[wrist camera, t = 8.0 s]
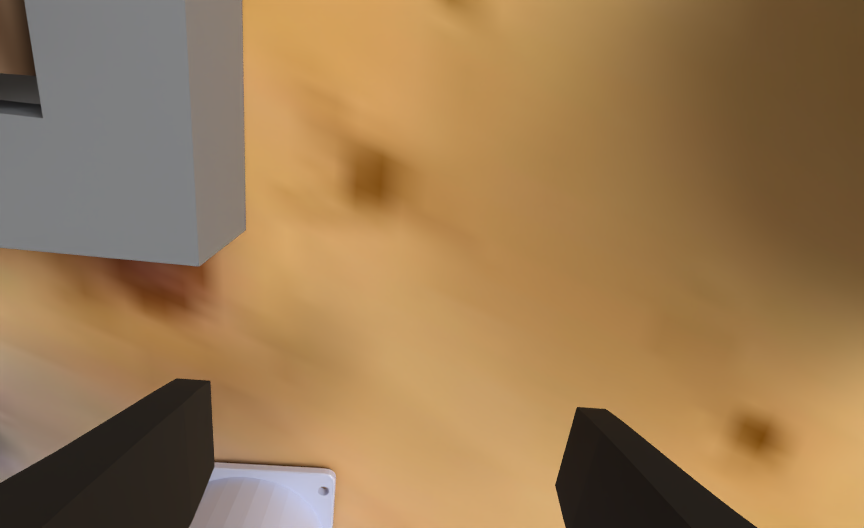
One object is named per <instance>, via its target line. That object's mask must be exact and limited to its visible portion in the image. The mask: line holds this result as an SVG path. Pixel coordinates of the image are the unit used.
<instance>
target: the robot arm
mask: <svg viewBox="0 0 864 528" xmlns="http://www.w3.org/2000/svg"><path fill="white" fill-rule="evenodd" d="M335 486H336V474H335V473H334V472H333V471H332V470H330V469H326V468H310V467H292V466H274V465H255V464H237V463H219V462H214V446H213V426H212V406H211V385H210V381H205V380H191V379H175V380H173V381H171V382H170V383H168V384H166V385H164V386H163V387H161V388H159V389H157V390H156V391H154V392H153V393H151V394H149V395H148V396H146V397H144V398H143V399H141V400H139V401H138V402H136V403H135V404H133V405H131V406H130V407H128V408H127V409H125V410H123V411H122V412H120V413H119V414H117V415H115V416H114V417H112V418H110V419H109V420H107V421H106V422H104V423H102V424H101V425H99V426H97V427H96V428H94V429H92V430H91V431H89V432H87V433H86V434H84V435H82V436H81V437H79V438H78V439H76V440H74V441H73V442H71V443H69V444H68V445H66V446H64V447H63V448H61V449H59V450H58V451H56V452H54V453H53V454H51V455H49V456H47V457H45V458H44V459H42V460H40V461H38V462H37V463H35V464H33V465H31V466H30V467H28V468H26V469H24V470H22V471H21V472H19V473H17V474H15V475H14V476H12V477H10V478H8V479H7V480H5V481H3V482H1V483H0V528H333V516H334V501H335ZM555 486H556V490H557V494H558V499H559V503H560V507H561V511H562V515H563V519H564V523H565V526H566V528H757V527H756V526H754V525H753V524H752V523H750V522H749V521H747V520H746V519H745V518H743V517H742V516H741V515H739V514H738V513H737V512H735V511H734V510H733V509H731V508H730V507H729V506H728V505H726V504H725V503H724V502H722V501H721V500H720V499H718V498H717V497H716V496H715V495H713V494H712V493H711V492H710V491H708V490H707V489H706V488H704V487H703V486H702V485H701V484H699V483H698V482H697V481H696V480H694V479H693V478H692V477H691V476H689V475H688V474H687V473H686V472H684V471H683V470H682V469H681V468H679V467H678V466H677V465H676V464H675V463H673V462H672V461H671V460H670V459H668V458H667V457H666V456H665V455H663V454H662V453H661V452H660V451H659V450H657V449H656V448H655V447H654V446H652V445H651V444H650V443H649V442H648V441H646V440H645V439H644V438H643V437H641V436H640V435H639V434H638V433H636V432H635V431H634V430H633V429H631V428H630V427H629V426H628V425H626V424H625V423H624V422H623V421H621V420H620V419H619V418H617V417H616V416H615V415H613V414H612V413H610V412H609V411H608V410H606V409H597V408H583V407H577V409H576V412H575V416H574V420H573V423H572V427H571V430H570V434H569V438H568V441H567V445H566V448H565V452H564V455H563V459H562V463H561V466H560V470H559V473H558V477H557V481H556V484H555ZM321 487H327V488H326V489H324V488H321Z"/></svg>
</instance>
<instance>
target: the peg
mask: <svg viewBox="0 0 864 528" xmlns="http://www.w3.org/2000/svg"><path fill="white" fill-rule="evenodd" d="M0 73H4V74H17V75H30V76H36V71H35V65H34V58H33V52H32V46H31V40H30V33H29V27H28V21H27V14H26V8H25V2H24V0H0Z"/></svg>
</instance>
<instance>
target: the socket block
mask: <svg viewBox="0 0 864 528" xmlns="http://www.w3.org/2000/svg"><path fill="white" fill-rule="evenodd" d="M24 2H25V8H26V14H27V21H28V27H29V33H30V40H31V46H32V52H33V58H34V65H35V71H36V76H30V75H17V74H4V73H0V248H9V249H20V250H30V251H41V252H52V253H62V254H73V255H84V256H94V257H105V258H116V259H126V260H137V261H147V262H158V263H169V264H179V265H190V266H200V265H202V264H203V263H204V262H205V261H207V260H208V259H209V258H211V257H212V256H213V255H214V254H216V253H217V252H218V251H220V250H221V249H222V248H223V247H225V246H226V245H227V244H229V243H230V242H231V241H232V240H234V239H235V238H236V237H238V236H239V235H240V234H241V233H243V232H244V231H245V230H246V210H245V148H244V87H243V25H242V0H24Z"/></svg>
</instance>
